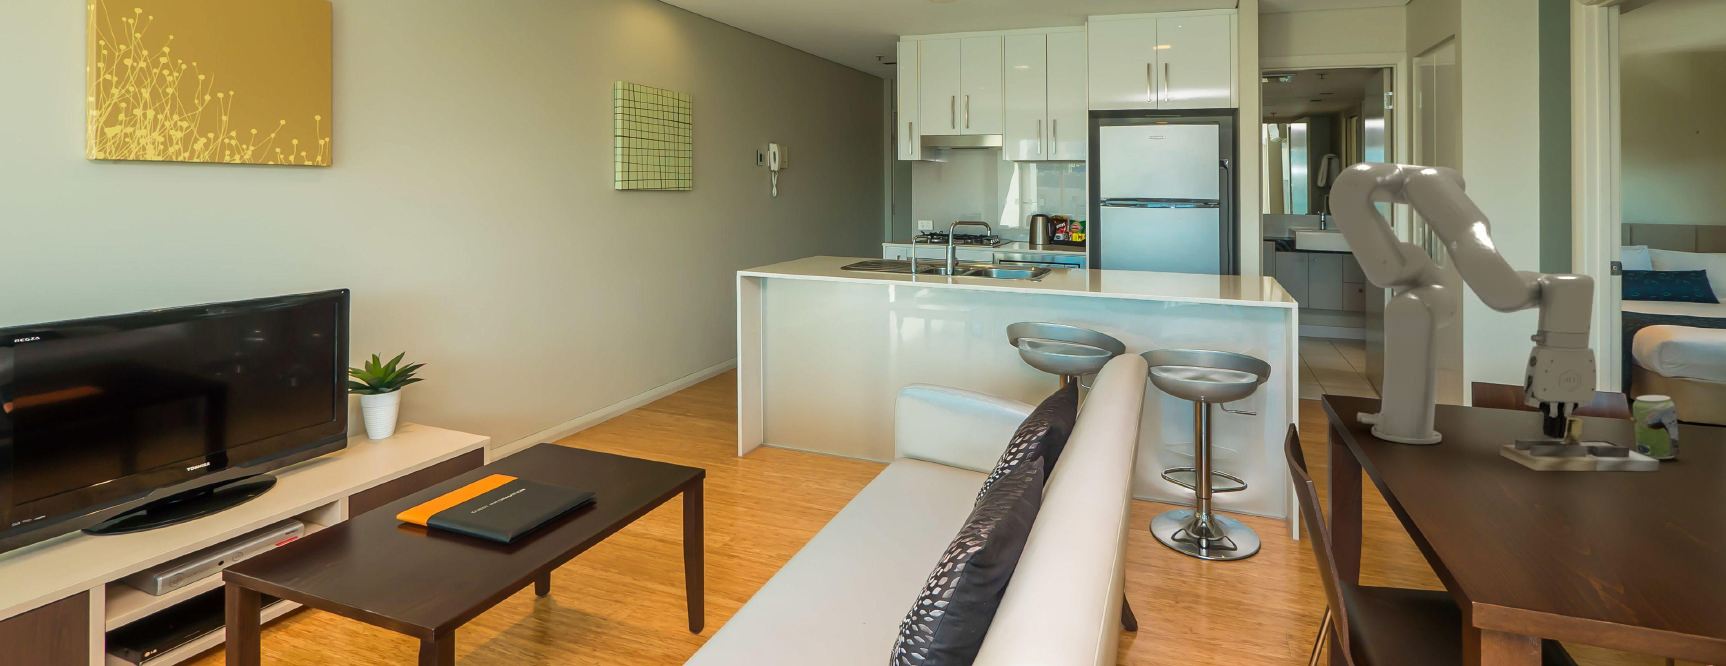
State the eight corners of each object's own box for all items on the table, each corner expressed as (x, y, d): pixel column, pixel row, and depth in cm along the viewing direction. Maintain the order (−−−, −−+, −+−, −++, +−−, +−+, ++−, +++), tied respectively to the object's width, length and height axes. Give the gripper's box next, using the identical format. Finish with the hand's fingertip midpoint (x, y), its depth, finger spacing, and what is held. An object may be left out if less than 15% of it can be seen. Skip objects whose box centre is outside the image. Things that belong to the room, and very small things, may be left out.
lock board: (1535, 470, 158) (1537, 450, 157) (1500, 454, 168) (1502, 436, 167) (1658, 471, 156) (1660, 451, 155) (1615, 455, 166) (1617, 436, 165)
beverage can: (1686, 462, 160) (1694, 400, 159) (1641, 461, 162) (1648, 399, 160) (1663, 453, 167) (1670, 392, 165) (1619, 451, 168) (1626, 392, 166)
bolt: (1567, 453, 160) (1570, 420, 159) (1558, 450, 163) (1561, 417, 162) (1613, 453, 160) (1616, 420, 159) (1603, 450, 162) (1606, 417, 161)
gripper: (1533, 344, 156) (1524, 441, 158) (1621, 343, 154) (1611, 441, 157) (1506, 337, 163) (1498, 431, 166) (1590, 337, 162) (1581, 431, 164)
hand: (1553, 436), depth 161 cm, fingers closed
